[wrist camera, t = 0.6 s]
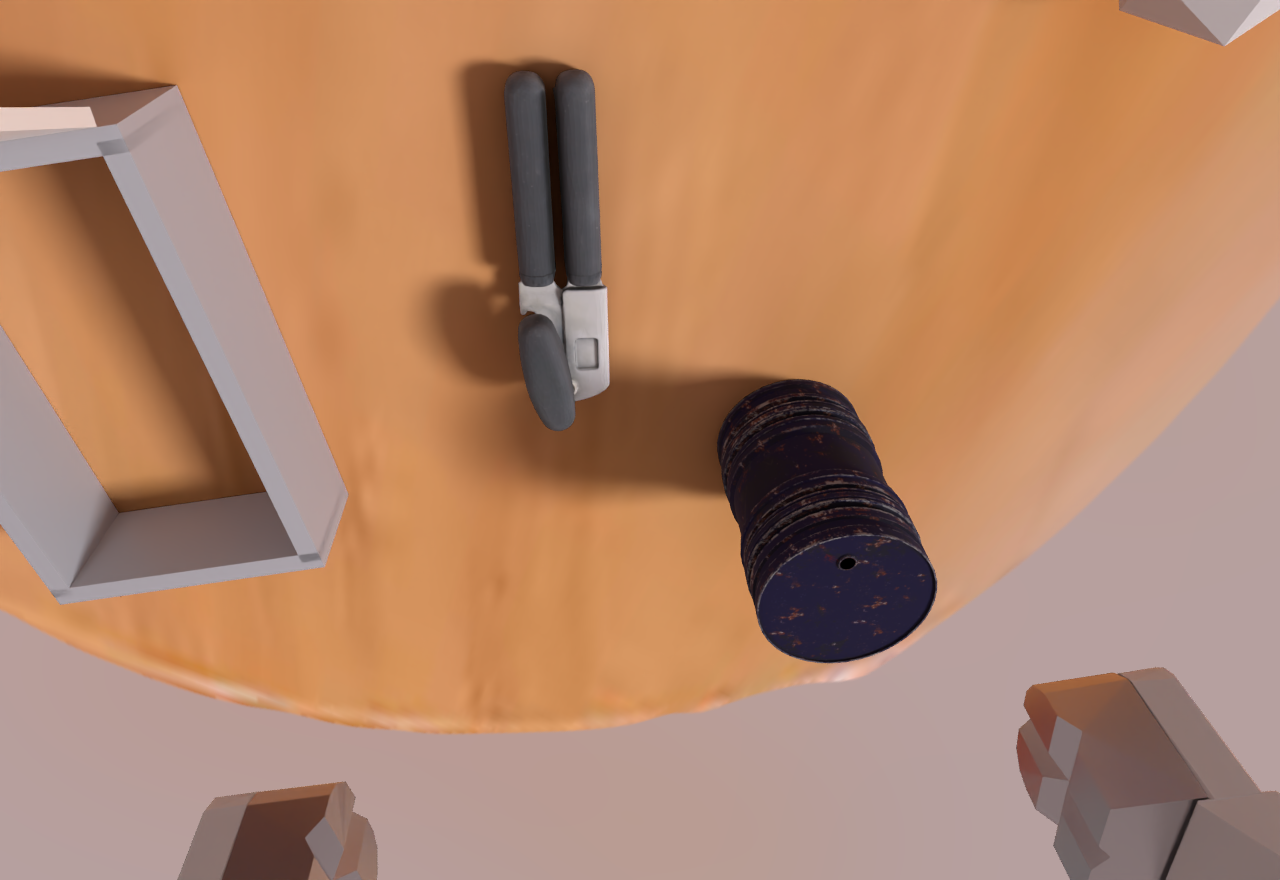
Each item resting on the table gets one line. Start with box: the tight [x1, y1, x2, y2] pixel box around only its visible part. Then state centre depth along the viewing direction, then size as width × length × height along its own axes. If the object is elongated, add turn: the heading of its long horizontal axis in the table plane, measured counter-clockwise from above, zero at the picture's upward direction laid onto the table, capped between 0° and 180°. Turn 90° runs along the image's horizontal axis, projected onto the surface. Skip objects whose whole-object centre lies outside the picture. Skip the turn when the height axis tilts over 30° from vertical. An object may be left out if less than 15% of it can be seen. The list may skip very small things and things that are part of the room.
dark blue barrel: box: [717, 379, 937, 663], centre depth 52 cm, size 10×10×15 cm
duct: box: [0, 85, 348, 605], centre depth 48 cm, size 26×16×7 cm, turn 7°
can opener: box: [504, 69, 610, 431], centre depth 46 cm, size 19×5×6 cm, turn 0°
